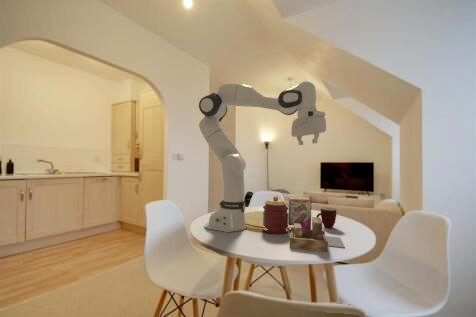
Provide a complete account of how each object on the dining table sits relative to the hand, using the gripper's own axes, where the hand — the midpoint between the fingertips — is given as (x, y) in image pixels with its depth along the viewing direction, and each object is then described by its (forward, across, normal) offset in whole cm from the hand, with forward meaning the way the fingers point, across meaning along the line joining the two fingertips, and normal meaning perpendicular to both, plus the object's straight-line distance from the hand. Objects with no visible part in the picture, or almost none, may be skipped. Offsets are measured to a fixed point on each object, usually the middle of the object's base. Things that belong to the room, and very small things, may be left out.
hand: (307, 144), depth 109 cm
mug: (+45, -8, +19) cm, 49 cm away
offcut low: (+44, +4, -11) cm, 46 cm away
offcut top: (+40, +5, -11) cm, 42 cm away
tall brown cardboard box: (+44, +10, -5) cm, 46 cm away
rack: (+44, +8, -8) cm, 45 cm away
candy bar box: (+44, -10, +2) cm, 45 cm away
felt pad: (+44, +11, +4) cm, 46 cm away
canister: (+44, -14, -10) cm, 47 cm away
